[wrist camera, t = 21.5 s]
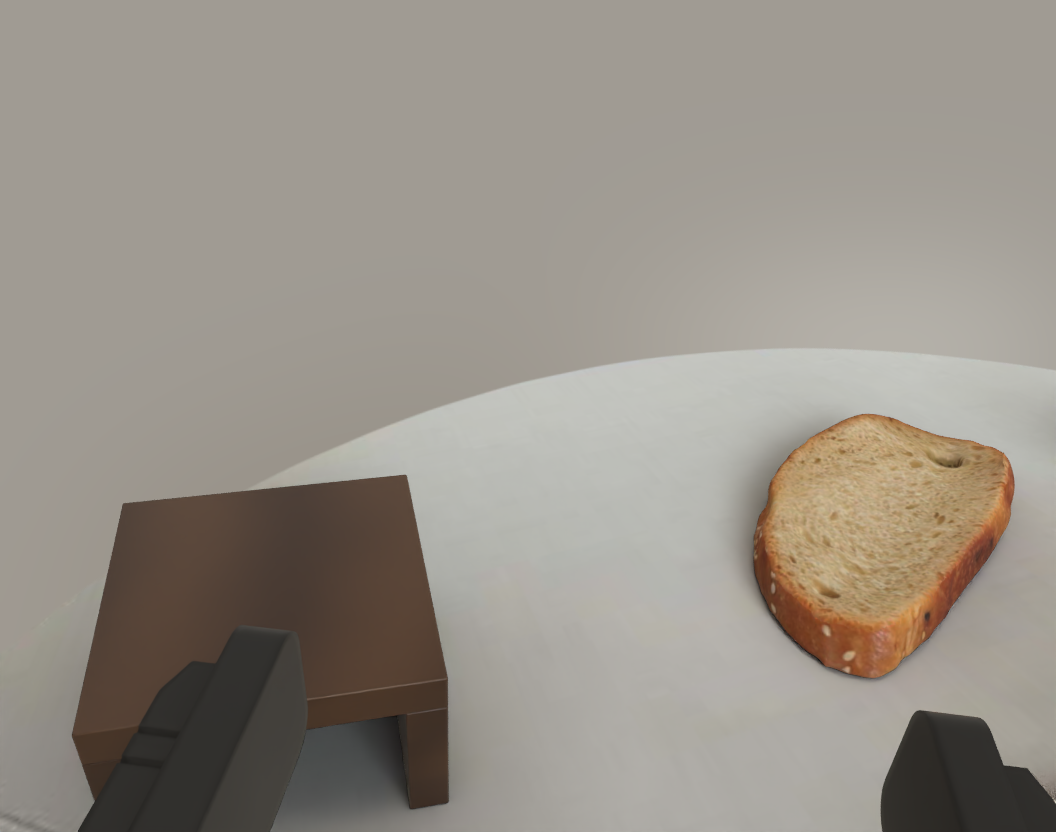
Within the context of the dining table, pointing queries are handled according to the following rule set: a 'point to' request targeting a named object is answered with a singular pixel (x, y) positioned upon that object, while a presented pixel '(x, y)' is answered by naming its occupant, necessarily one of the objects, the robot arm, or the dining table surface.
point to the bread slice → (877, 537)
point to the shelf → (274, 613)
